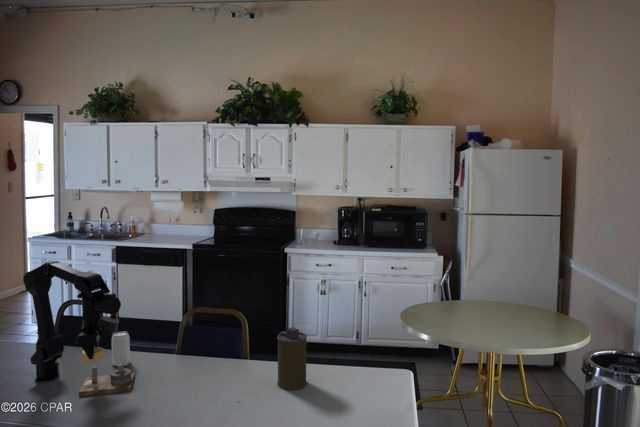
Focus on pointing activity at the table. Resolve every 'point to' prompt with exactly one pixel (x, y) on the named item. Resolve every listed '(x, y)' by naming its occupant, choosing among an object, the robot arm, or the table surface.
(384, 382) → the table surface
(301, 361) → the canister
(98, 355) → the tan ring
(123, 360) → the can
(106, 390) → the gear board
